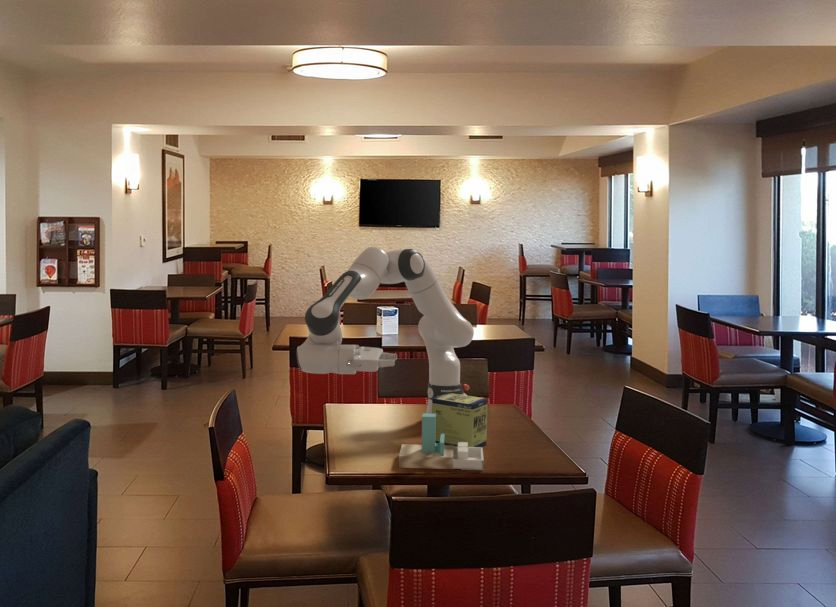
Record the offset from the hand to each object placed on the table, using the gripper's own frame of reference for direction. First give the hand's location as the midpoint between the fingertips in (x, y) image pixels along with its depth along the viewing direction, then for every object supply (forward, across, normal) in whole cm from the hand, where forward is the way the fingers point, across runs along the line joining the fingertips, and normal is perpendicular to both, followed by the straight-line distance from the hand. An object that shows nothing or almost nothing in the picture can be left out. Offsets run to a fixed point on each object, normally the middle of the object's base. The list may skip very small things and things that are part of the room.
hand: (395, 359), depth 252 cm
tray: (+22, 0, +31) cm, 38 cm away
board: (+9, 0, +31) cm, 33 cm away
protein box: (+19, +20, +32) cm, 42 cm away
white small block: (+19, -3, +28) cm, 34 cm away
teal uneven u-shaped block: (+11, 0, +28) cm, 30 cm away
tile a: (+19, +3, +29) cm, 34 cm away
